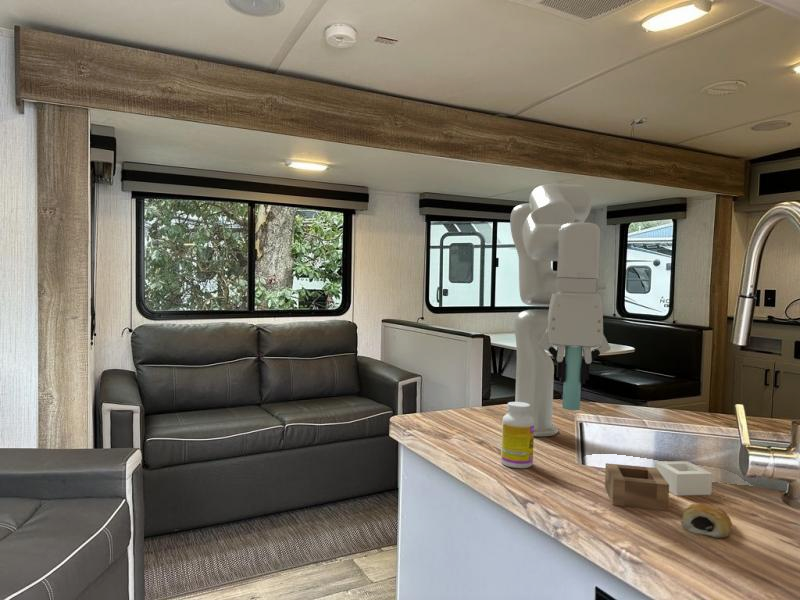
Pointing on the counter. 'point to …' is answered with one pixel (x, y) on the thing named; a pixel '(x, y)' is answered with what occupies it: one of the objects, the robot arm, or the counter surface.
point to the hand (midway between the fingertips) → (572, 381)
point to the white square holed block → (685, 478)
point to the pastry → (706, 520)
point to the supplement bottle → (517, 436)
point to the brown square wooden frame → (636, 487)
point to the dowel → (572, 378)
